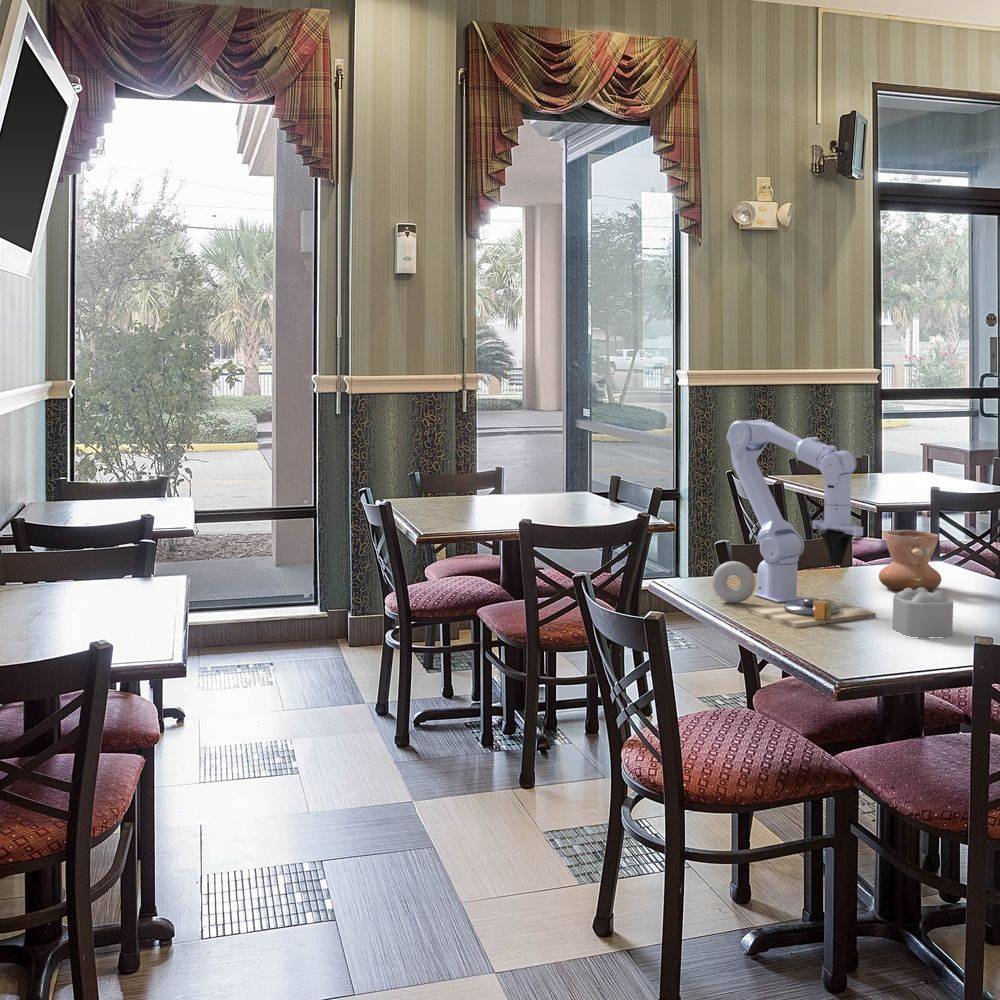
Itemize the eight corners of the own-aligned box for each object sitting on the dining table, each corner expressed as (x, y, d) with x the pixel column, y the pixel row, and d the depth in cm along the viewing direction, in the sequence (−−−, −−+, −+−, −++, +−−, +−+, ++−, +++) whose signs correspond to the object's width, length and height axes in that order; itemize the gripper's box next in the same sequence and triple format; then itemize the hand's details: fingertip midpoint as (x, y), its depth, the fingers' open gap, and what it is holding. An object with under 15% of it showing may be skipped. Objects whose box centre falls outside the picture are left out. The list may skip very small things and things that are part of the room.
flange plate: (790, 619, 230) (791, 602, 229) (779, 603, 245) (780, 587, 245) (848, 619, 229) (848, 603, 228) (833, 603, 244) (834, 588, 244)
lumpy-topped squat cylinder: (908, 639, 217) (910, 597, 216) (882, 624, 230) (883, 584, 229) (958, 638, 218) (960, 596, 217) (929, 623, 231) (930, 583, 230)
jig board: (748, 612, 242) (749, 591, 241) (826, 603, 251) (826, 583, 250) (797, 628, 226) (797, 606, 226) (878, 618, 235) (879, 596, 235)
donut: (755, 602, 252) (756, 561, 251) (753, 606, 249) (754, 563, 248) (713, 600, 256) (713, 558, 254) (710, 603, 252) (711, 561, 251)
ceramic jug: (948, 597, 255) (951, 538, 254) (884, 595, 258) (886, 536, 256) (931, 584, 273) (934, 528, 272) (872, 582, 276) (874, 527, 274)
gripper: (802, 502, 247) (801, 560, 249) (845, 508, 234) (844, 570, 235) (826, 500, 250) (825, 558, 251) (870, 506, 237) (870, 567, 238)
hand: (836, 563), depth 244 cm, fingers closed
